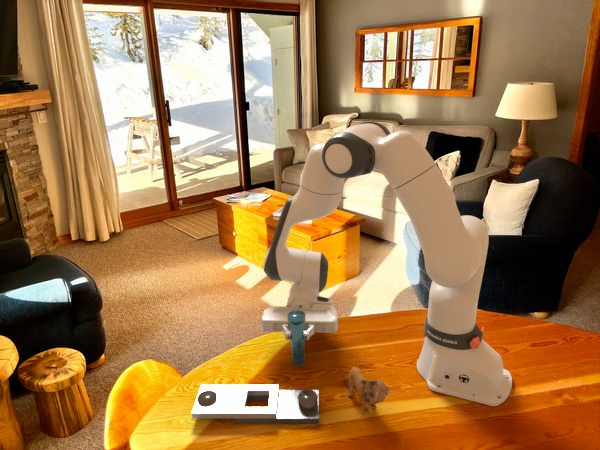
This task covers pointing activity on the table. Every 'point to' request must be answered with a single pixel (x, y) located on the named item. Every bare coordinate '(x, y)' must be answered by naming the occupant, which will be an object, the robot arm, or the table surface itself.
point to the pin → (297, 336)
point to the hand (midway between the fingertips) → (297, 337)
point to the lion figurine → (367, 389)
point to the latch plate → (279, 411)
